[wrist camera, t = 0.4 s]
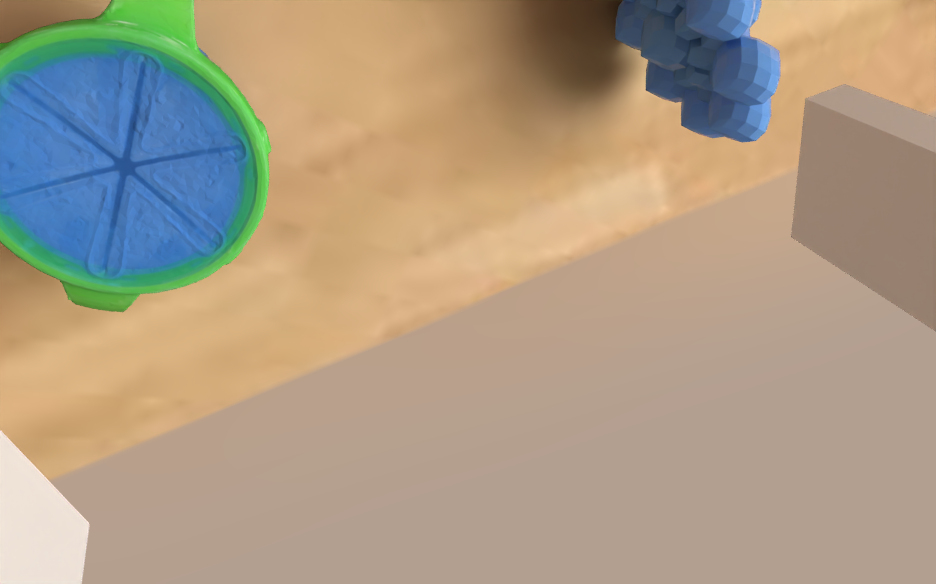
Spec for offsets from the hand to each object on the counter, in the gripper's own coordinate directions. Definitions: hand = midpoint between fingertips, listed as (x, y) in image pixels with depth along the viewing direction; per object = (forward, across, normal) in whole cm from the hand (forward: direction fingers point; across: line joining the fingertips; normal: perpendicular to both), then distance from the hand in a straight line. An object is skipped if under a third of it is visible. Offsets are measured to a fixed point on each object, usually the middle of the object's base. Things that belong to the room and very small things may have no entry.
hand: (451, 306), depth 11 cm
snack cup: (+28, -7, -3) cm, 29 cm away
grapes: (+27, +19, -6) cm, 33 cm away
